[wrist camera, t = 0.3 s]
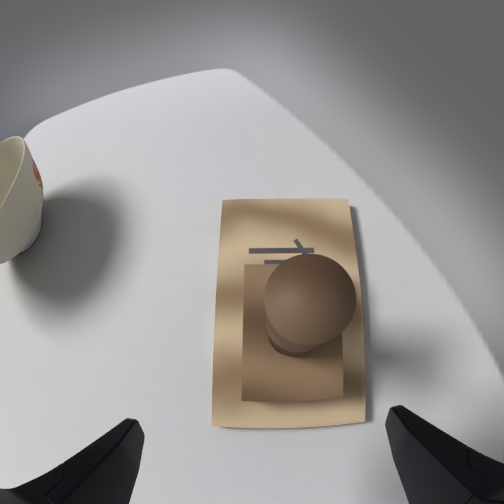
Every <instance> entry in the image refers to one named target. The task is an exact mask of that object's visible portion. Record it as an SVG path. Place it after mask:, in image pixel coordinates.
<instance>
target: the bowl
mask: <svg viewBox="0 0 504 504" xmlns="http://www.w3.org/2000/svg"><path fill="white" fill-rule="evenodd" d="M42 208H43V185H42V180H41V176H40V174H39V171H38V168H37V166H36V164H35V162H34V160H33V158H32V156H31V153H30V151H29V149H28V147H27V145H26V143H25V141H24V139H23V138H21V137H19V136H14V137H10V138H8V139H6V140H4V141H2V142H0V264H2V263H4V262H7V261H8V260H10V259H12V258H13V257H15V256H16V255H17V254H19V253H21V252H24V251H25V250H27V249H28V248H29V247H30V246H31V245H32V244H33V243H34V241H35V240H36V238H37V236H38V234H39V231H40V228H41V223H42V217H41V213H42Z"/></svg>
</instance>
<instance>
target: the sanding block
mask: <svg viewBox="0 0 504 504" xmlns="http://www.w3.org/2000/svg"><path fill="white" fill-rule="evenodd" d="M355 308H356V291H355V287H354V284H353V281H352V279H351V277H350V276H349V274H348V273H347V271H346V270H345V269H344V268H343V267H342V266H341V265H340V264H338V263H337V262H336V261H334V260H332V259H331V258H328V257H326V256H323V255H319V254H300V255H296V256H293V257H291V258H289V259H287V260H285V261H284V262H282V263H281V264H244V300H243V343H242V392H241V401H256V402H282V401H311V400H326V399H339V398H343V345H342V332H343V331H344V330H345V329H346V327H347V326H348V325H349V323H350V321H351V320H352V318H353V315H354V312H355Z"/></svg>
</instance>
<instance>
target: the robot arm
mask: <svg viewBox="0 0 504 504" xmlns="http://www.w3.org/2000/svg"><path fill="white" fill-rule="evenodd" d="M385 426H386V431H387V435H388V439H389V443H390V447H391V452H392V456H393V460H394V463H395V466H396V468H397V471H398V474H399V476H400V479H401V482H402V485H403V488H404V490H405V493H406V496H407V499H408V502H409V504H504V464H503V463H501V462H498V461H496V460H494V459H491V458H489V457H487V456H485V455H483V454H481V453H479V452H477V451H475V450H474V449H472V448H470V447H467V445H465V444H463V443H462V442H460V441H458V440H457V439H455V438H453V437H452V436H450V435H448V434H447V433H445V432H443V431H442V430H440V429H438V428H437V427H435V426H434V425H432V424H430V423H429V422H427V421H426V420H424V419H422V418H421V417H419V416H418V415H416V414H415V413H413V412H411V411H410V410H408V409H407V408H405V407H404V406H402V405H398V406H394V407H391V408H390V410H389V413H388V416H387V419H386V423H385ZM144 438H145V437H144V432H143V430H142V428H141V426H140V424H139V422H138V421H137V420H136V419H130V418H127V419H125V420H124V421H122V422H121V423H120V424H118V425H117V426H115V427H114V428H113V429H111V430H110V431H108V432H107V433H106V434H104V435H103V436H101V437H100V438H99V439H97V440H96V441H94V442H93V443H91V444H90V445H89V446H87V447H86V448H84V449H83V450H81V451H80V452H78V453H77V454H75V455H74V456H72V457H71V458H69V459H68V460H66V461H65V462H64V463H62V464H60V465H59V466H57V467H56V468H54V469H52V470H51V471H49V472H47V473H45V474H44V475H42V476H40V477H38V478H36V479H33V480H31V481H29V482H27V483H25V484H23V485H20V486H18V487H15V488H11V489H0V504H129V502H130V498H131V495H132V492H133V488H134V485H135V482H136V478H137V475H138V471H139V467H140V461H141V455H142V450H143V444H144Z"/></svg>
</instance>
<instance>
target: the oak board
mask: <svg viewBox="0 0 504 504" xmlns="http://www.w3.org/2000/svg"><path fill="white" fill-rule="evenodd" d="M300 254H319V255H323V256H326V257H328V258H331V259H332V260H334V261H336V262H337V263H338V264H340V265H341V266H342V267H343V268H344V269H345V270H346V271H347V273H348V274H349V276H350V277H351V279H352V281H353V284H354V287H355V291H356V308H355V312H354V315H353V318H352V320H351V321H350V323H349V325H348V326H347V327H346V329H345V330H344V331H343V332H342V345H343V398H339V399H326V400H311V401H282V402H256V401H241V392H242V343H243V300H244V264H281V263H282V262H284V261H285V260H287V259H289V258H291V257H293V256H296V255H300ZM365 407H366V373H365V343H364V325H363V311H362V299H361V288H360V279H359V270H358V261H357V253H356V246H355V239H354V232H353V226H352V219H351V213H350V207H349V202H348V199H240V200H223V202H222V215H221V228H220V242H219V256H218V272H217V290H216V309H215V330H214V355H213V389H212V426H219V427H236V428H304V427H320V426H332V425H342V424H350V423H358V422H365Z"/></svg>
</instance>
